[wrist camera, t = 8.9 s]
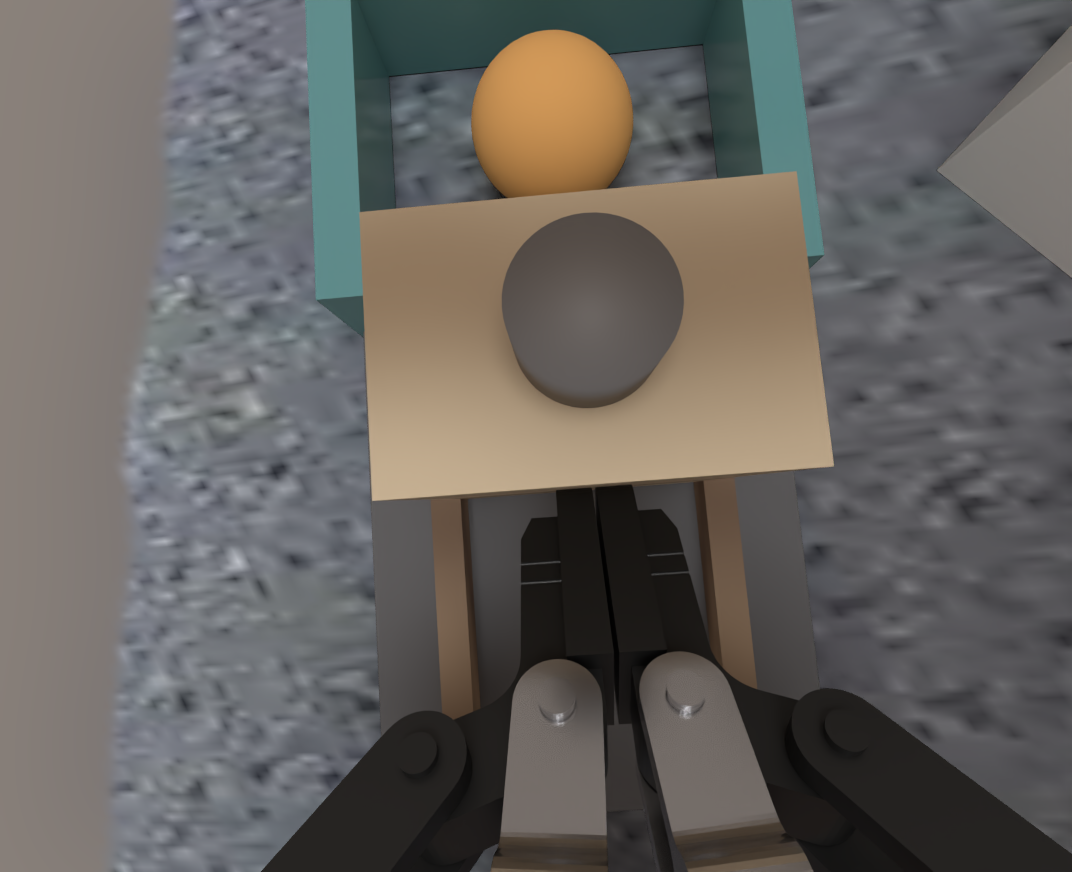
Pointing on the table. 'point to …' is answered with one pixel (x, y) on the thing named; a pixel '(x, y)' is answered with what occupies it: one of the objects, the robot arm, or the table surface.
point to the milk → (1026, 157)
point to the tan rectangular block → (591, 340)
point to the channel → (718, 575)
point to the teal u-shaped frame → (474, 41)
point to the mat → (497, 598)
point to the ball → (551, 116)
